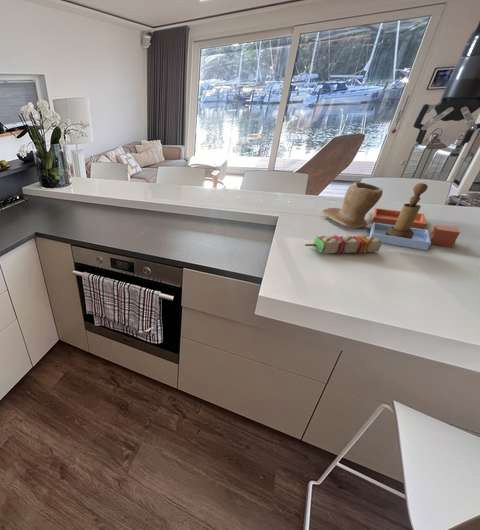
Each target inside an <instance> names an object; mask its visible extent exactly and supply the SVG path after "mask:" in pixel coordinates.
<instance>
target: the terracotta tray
mask: <svg viewBox="0 0 480 530" xmlns="http://www.w3.org/2000/svg"><path fill="white" fill-rule="evenodd" d="M400 213H401V210H394V209H386V208H378V207H377V208H376V207H374V210H373V212H372V216H371V225H372V224H373V222H374V223H381V224H389V225H395V224H396V222H397V219H398V217H399V215H400ZM426 227H427V220H426V216H425V213H419V212H418V213H417V215H416V217H415V220H414V222H413V224H412V226H411V228H417V229H424V230H425V228H426Z"/></svg>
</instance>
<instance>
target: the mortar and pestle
mask: <svg viewBox="0 0 480 530" xmlns="http://www.w3.org/2000/svg"><path fill="white" fill-rule="evenodd" d="M428 188H429V187H428V185H427V184H426V183H424V182H422V183H421V182H420V183H416V184H415V185H414V186H413V196H410V198H409V203H404V204H403V206H402V208H401V210H400V211H401V213H400V215H399V217H398V219H397V222H396V224H395V226H393V227H390V228H388V230H387V232H386V234H385V235H388V236H395V237H401V238H407V239H412V237H413V234H414V232H413V231H412V230H411V229H410V228H411V226H412V224H413V222H414V220H415V217H416V215H417V213H419V211H420V209H421V208H422V206H421V205H420V204H418V203H419V202H420V200H421V195H422V194H424V193H425V192H426V191H428Z"/></svg>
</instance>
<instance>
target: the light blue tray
mask: <svg viewBox="0 0 480 530" xmlns="http://www.w3.org/2000/svg"><path fill="white" fill-rule="evenodd" d="M393 226H395V225H389V224H381V223H374V222H373V224H371V227H370V230H369V236H374V237H376V238H377V239H379V240H380V241H382V244H388V245H392V246H393V245H394V246H399V247H406V248H412V249H417V250H423V251H428V250H429V247H430V246H431V245H432V244H431V241H430V236H429V235H430V233H429V230H428V229H425V228H424V229H417V228H410V229H411V230H412V231H413V232H414V234H413V237H412V239H407V238H401V237H395V236H388V235H385V234H386V232H387V230H388V228H390V227H393Z"/></svg>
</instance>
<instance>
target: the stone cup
mask: <svg viewBox="0 0 480 530" xmlns="http://www.w3.org/2000/svg"><path fill="white" fill-rule="evenodd" d="M383 191H384V190H383V189H382V188H381V187H379V186H376V185H374V184H371V183H367V182H361V181H355V182H353V183H351V184H350V185H349V186H348V187H347V189H346V192H345V195H344V198H343V203H342V207H341V208H338V207H329V208H328V207H327V208H325V209H323V210H321V213H322V214H323V215H324V216H326V217H327V218H329V219H331V220H333V221H334V222H336V223H338V224H340V225H341V226H344V227H347V228H356V229H357V228H365V227H367V226H368V225H369V223H368V222H367V220H366V219H365V218H366V215H367V214H368V213H369V211H371V210H372V208H373V207H375V205H376V204H377V203H379V201H380V199H381V198H382V196H383V193H384V192H383Z"/></svg>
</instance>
